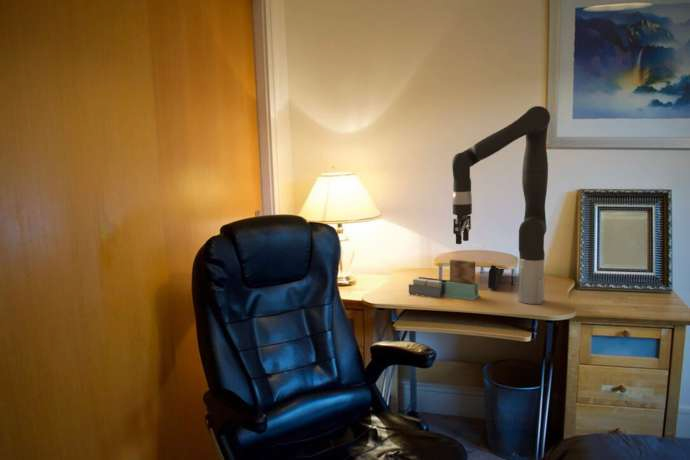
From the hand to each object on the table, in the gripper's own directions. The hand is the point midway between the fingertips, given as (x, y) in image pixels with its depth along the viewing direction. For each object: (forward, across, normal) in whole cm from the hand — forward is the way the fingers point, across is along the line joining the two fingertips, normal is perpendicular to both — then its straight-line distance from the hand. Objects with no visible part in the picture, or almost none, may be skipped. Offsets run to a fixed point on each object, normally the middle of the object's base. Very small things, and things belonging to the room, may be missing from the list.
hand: (462, 242), depth 210 cm
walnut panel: (+22, 0, 0) cm, 22 cm away
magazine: (+23, +29, -6) cm, 38 cm away
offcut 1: (+21, -3, +17) cm, 28 cm away
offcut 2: (+22, -3, +11) cm, 24 cm away
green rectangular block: (+23, 0, 0) cm, 23 cm away
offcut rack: (+22, -2, +14) cm, 27 cm away
